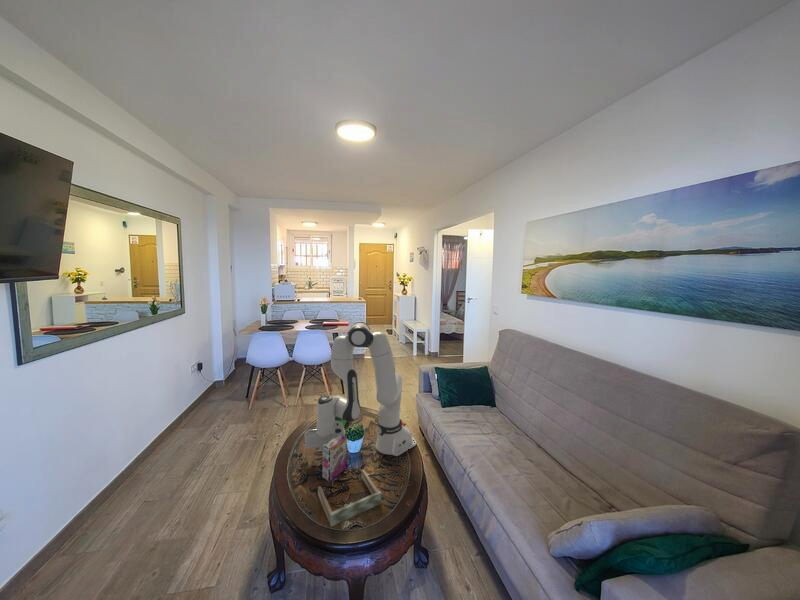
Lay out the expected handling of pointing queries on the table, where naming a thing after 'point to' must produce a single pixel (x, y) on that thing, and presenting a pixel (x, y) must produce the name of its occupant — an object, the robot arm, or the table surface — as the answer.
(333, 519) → the dock
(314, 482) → the table surface
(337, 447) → the candy bar box
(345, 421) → the fruit basket
